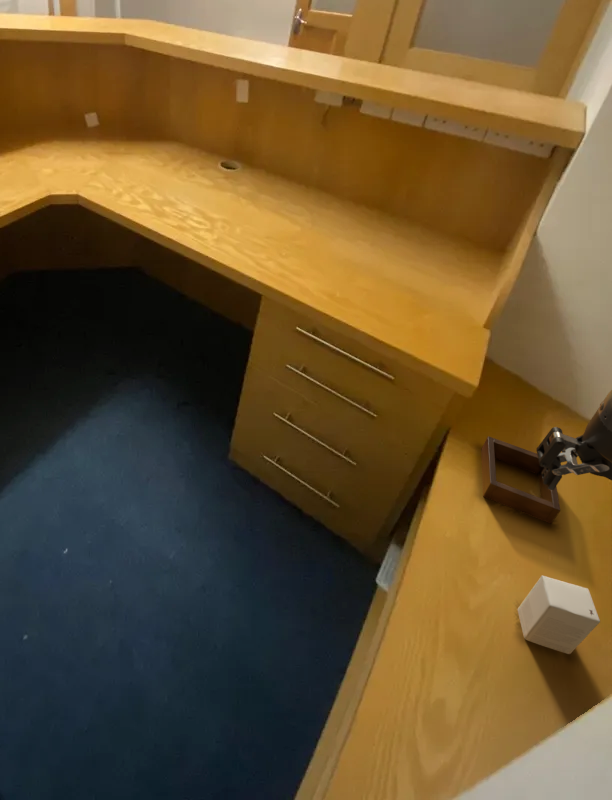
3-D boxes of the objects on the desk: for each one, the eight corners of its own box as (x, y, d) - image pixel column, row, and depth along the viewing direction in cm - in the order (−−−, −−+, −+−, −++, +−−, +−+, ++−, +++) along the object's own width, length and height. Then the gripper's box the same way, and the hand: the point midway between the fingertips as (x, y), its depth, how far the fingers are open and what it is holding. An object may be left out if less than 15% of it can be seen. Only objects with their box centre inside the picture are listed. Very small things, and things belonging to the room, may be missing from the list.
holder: (540, 476, 98) (552, 458, 96) (548, 527, 90) (560, 510, 87) (479, 453, 102) (487, 435, 100) (480, 500, 94) (490, 483, 92)
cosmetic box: (557, 624, 78) (590, 588, 72) (567, 658, 75) (602, 623, 69) (512, 610, 80) (541, 573, 74) (520, 643, 76) (550, 607, 70)
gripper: (575, 427, 64) (529, 500, 72) (723, 473, 59) (655, 545, 67) (563, 383, 70) (521, 454, 78) (696, 421, 64) (636, 493, 73)
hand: (583, 496), depth 72 cm, fingers open, 8 cm apart
